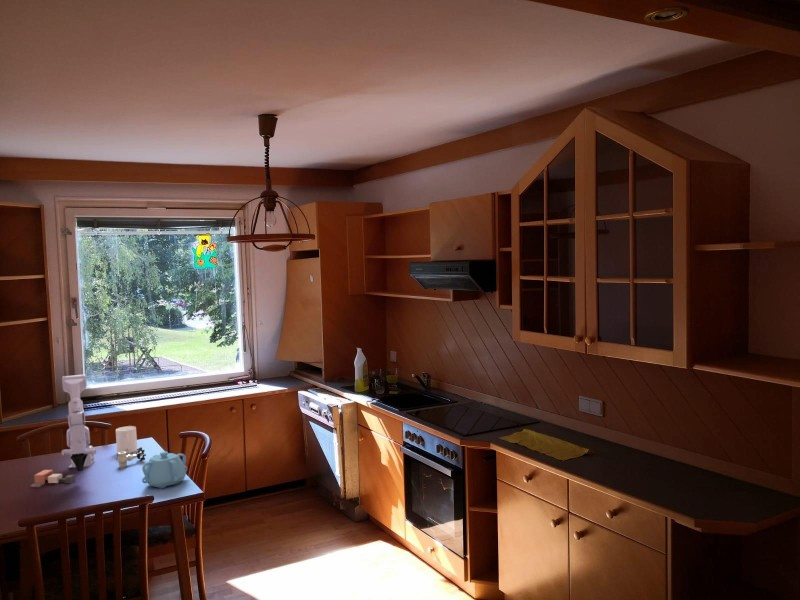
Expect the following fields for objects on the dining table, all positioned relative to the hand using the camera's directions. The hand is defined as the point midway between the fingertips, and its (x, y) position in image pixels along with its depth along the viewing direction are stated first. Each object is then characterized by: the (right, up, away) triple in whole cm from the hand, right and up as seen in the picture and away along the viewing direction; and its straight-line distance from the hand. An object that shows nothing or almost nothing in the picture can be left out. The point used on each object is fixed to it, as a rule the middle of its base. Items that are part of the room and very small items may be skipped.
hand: (80, 470), depth 287 cm
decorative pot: (+39, -4, -6) cm, 40 cm away
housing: (-16, -5, +2) cm, 17 cm away
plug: (-8, -5, +1) cm, 10 cm away
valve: (+12, -3, +24) cm, 27 cm away
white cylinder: (+3, -2, +44) cm, 44 cm away
